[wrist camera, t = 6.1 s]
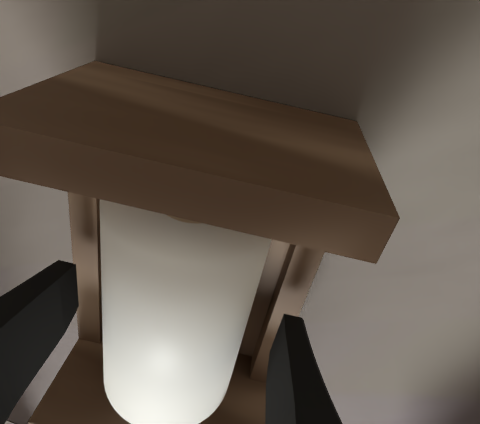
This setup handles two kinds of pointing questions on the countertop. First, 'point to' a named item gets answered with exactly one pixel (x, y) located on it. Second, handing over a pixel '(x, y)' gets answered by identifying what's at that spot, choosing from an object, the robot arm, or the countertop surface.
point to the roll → (172, 311)
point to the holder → (193, 200)
